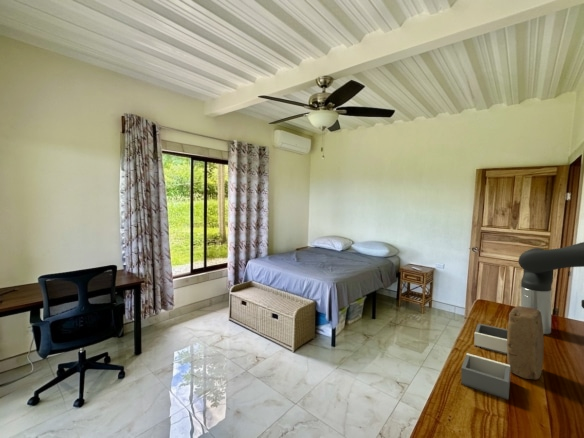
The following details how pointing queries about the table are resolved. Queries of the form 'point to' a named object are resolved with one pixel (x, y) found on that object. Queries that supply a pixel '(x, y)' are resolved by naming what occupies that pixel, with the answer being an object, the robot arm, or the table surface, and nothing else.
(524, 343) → the block
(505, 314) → the table surface
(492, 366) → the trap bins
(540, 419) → the table surface
